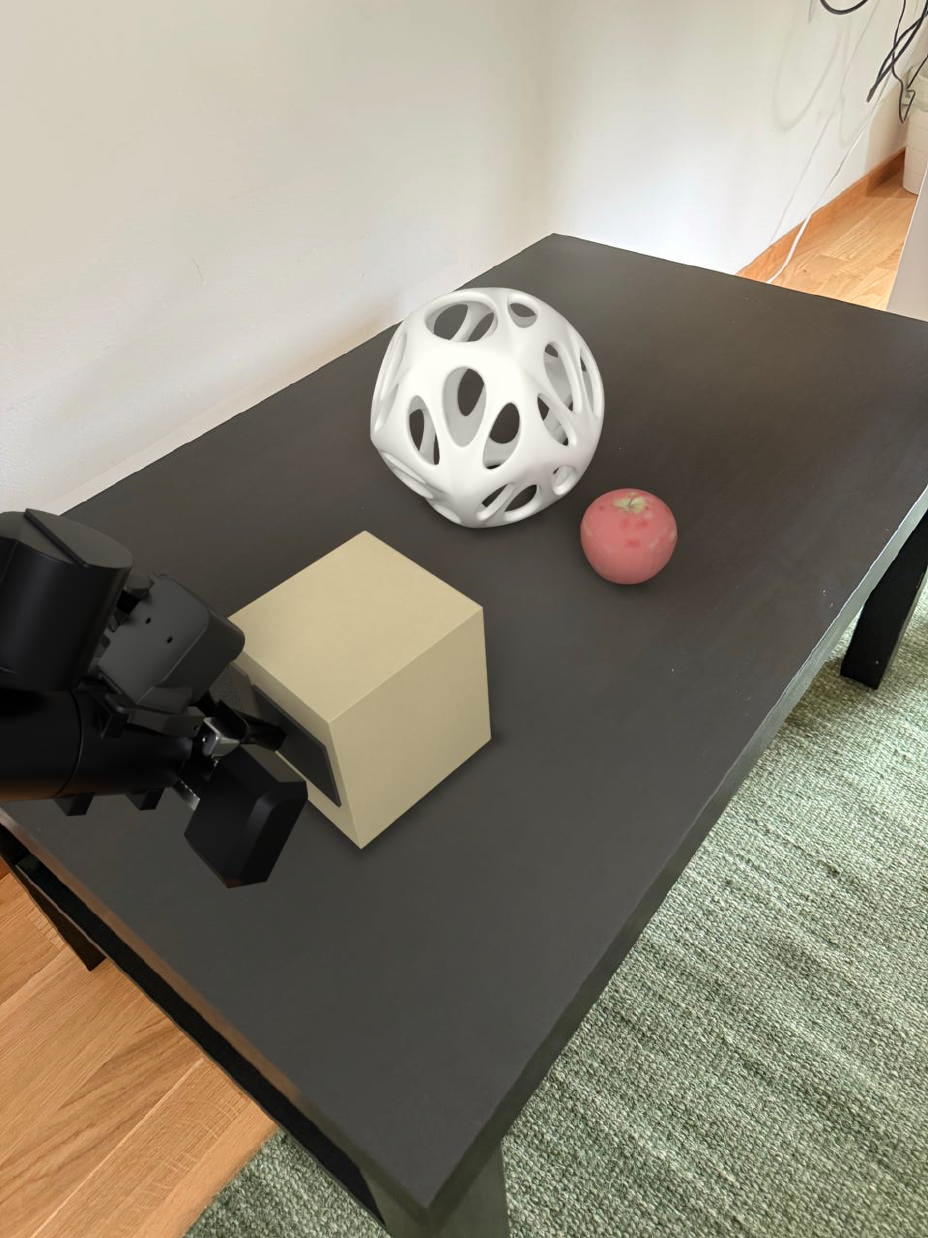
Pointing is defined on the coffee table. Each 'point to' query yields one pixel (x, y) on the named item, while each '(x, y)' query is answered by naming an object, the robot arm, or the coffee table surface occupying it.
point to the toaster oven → (366, 681)
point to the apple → (628, 535)
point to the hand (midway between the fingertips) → (280, 737)
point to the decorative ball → (488, 407)
